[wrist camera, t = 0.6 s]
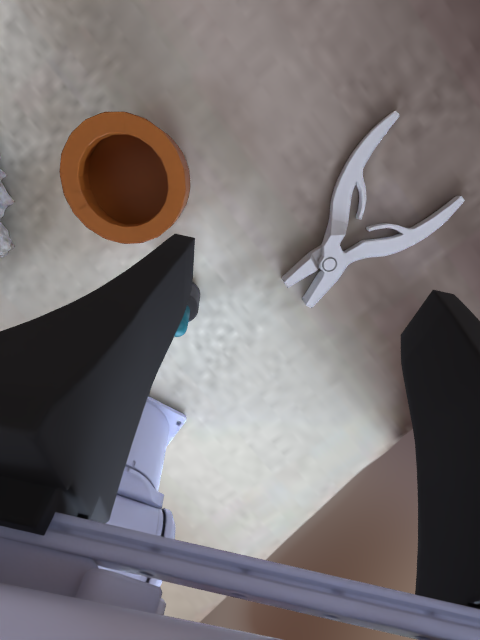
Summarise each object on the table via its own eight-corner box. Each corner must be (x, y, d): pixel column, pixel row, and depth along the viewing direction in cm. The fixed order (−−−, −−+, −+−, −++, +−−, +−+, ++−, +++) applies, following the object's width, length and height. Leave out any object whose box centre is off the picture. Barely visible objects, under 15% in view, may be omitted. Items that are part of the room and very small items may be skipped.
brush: (190, 313, 33) (182, 354, 25) (165, 298, 32) (149, 336, 25) (205, 290, 32) (202, 326, 25) (180, 274, 31) (169, 306, 24)
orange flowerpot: (157, 252, 31) (147, 265, 26) (65, 194, 28) (39, 198, 24) (210, 165, 28) (208, 164, 24) (114, 95, 26) (94, 81, 22)
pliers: (473, 203, 29) (334, 331, 33) (460, 201, 30) (329, 324, 34) (399, 106, 26) (255, 258, 30) (389, 109, 27) (253, 254, 31)
